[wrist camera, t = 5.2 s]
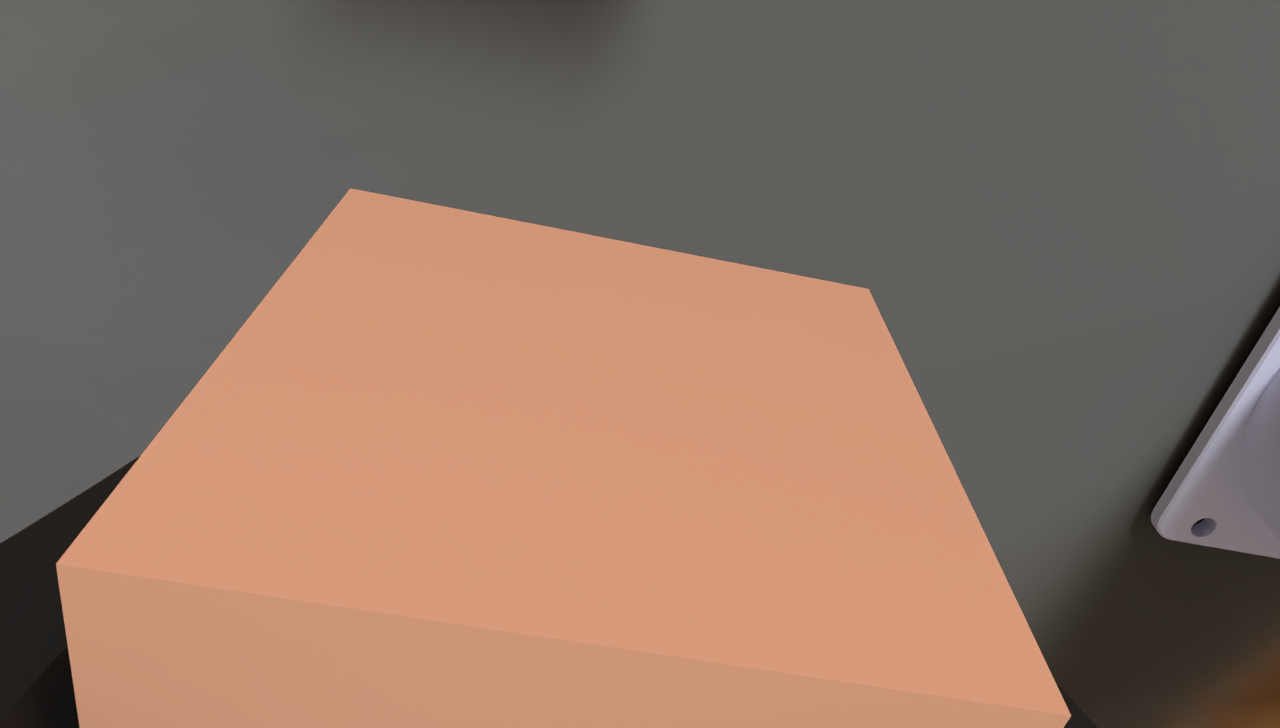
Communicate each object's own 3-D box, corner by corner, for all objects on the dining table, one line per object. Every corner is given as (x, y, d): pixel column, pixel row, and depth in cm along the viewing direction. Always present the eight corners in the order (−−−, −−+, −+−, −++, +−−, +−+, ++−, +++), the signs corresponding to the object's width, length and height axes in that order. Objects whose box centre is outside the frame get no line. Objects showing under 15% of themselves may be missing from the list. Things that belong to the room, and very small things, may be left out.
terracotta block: (868, 289, 9) (1070, 714, 5) (737, 645, 12) (792, 1136, 7) (350, 189, 9) (57, 564, 4) (329, 582, 11) (129, 1073, 7)
